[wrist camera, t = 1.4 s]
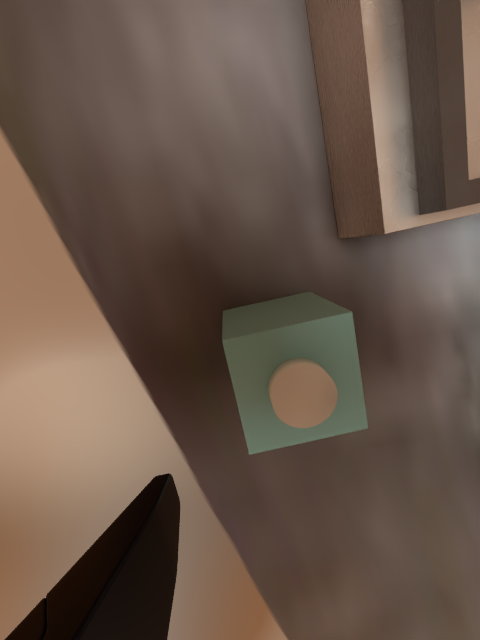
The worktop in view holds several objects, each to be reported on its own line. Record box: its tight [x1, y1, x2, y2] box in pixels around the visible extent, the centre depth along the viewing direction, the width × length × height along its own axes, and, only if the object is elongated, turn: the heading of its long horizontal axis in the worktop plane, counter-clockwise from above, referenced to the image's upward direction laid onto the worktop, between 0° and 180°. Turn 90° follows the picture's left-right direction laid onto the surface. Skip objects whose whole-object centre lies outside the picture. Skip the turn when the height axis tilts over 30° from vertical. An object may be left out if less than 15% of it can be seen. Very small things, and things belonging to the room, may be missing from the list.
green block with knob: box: [222, 291, 368, 455], centre depth 15 cm, size 5×5×7 cm
